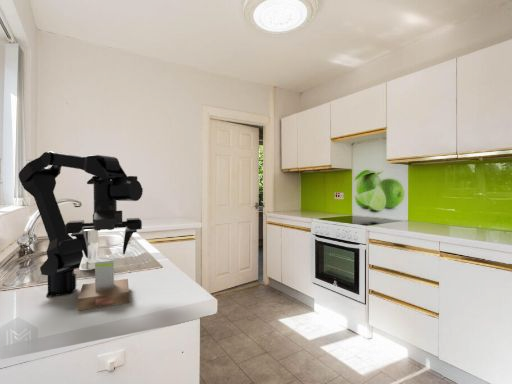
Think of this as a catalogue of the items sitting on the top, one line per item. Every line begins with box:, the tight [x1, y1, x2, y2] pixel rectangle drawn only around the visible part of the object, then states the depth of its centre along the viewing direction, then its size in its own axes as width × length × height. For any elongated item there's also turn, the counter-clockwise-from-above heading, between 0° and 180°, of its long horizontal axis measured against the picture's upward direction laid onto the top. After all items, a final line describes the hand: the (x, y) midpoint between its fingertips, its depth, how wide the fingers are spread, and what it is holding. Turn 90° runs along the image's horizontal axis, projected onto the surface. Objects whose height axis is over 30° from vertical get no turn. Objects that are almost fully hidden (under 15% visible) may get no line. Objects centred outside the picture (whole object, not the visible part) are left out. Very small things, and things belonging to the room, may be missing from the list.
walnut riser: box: [77, 278, 130, 311], centre depth 82 cm, size 12×12×3 cm
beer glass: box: [78, 229, 100, 271], centre depth 111 cm, size 7×7×15 cm
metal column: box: [94, 256, 115, 292], centre depth 82 cm, size 4×4×8 cm
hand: (105, 255), depth 82 cm, fingers open, 9 cm apart
